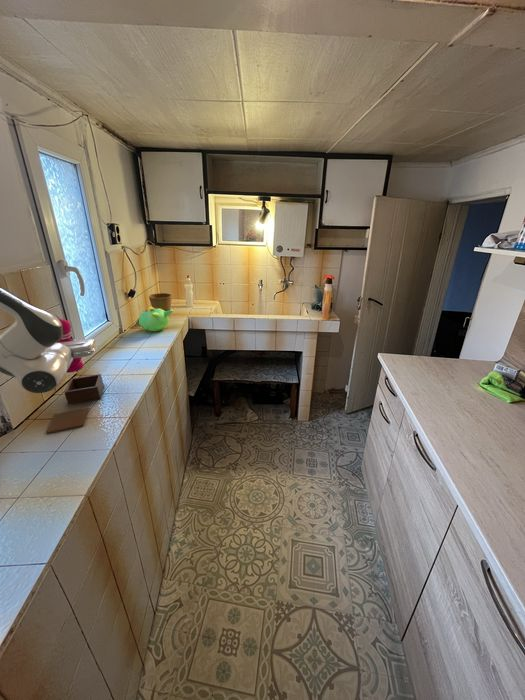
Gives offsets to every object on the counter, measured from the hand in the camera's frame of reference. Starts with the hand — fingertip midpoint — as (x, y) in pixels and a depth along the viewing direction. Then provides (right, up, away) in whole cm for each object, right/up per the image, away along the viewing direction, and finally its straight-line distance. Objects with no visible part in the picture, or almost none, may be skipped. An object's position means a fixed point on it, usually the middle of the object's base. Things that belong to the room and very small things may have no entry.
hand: (65, 342), depth 97 cm
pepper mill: (0, -10, +3) cm, 10 cm away
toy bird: (+2, +9, +79) cm, 79 cm away
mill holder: (0, -20, +12) cm, 24 cm away
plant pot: (-2, +20, +102) cm, 104 cm away
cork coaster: (+3, -27, -2) cm, 27 cm away
